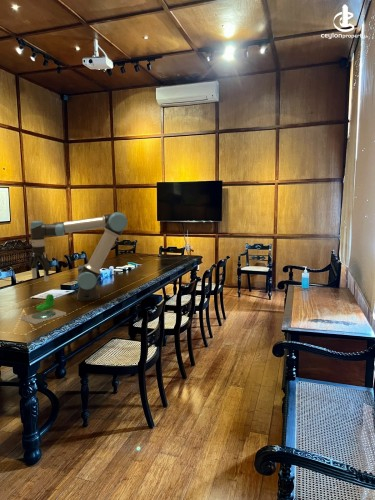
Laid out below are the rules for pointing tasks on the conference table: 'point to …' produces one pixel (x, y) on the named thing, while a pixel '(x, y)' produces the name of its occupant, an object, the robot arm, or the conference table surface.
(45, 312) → the carrier plate
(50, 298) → the mechanical part
